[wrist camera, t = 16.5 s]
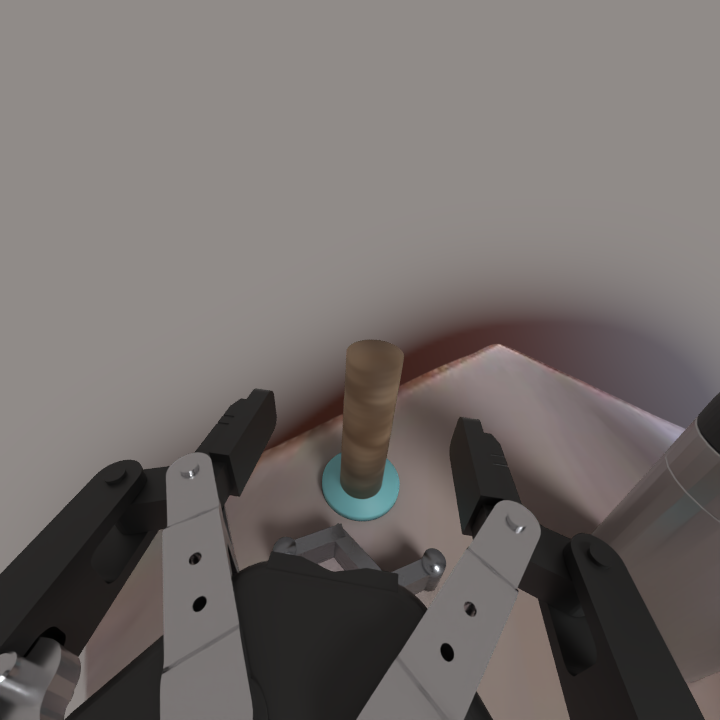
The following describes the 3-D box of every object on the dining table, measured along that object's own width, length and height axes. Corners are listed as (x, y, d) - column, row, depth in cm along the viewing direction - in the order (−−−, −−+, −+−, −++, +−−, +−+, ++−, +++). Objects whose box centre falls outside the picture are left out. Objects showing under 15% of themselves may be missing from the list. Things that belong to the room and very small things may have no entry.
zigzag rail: (432, 547, 27) (439, 528, 26) (443, 618, 23) (453, 601, 21) (284, 535, 27) (282, 515, 26) (267, 604, 23) (263, 585, 21)
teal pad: (385, 449, 37) (386, 444, 36) (409, 513, 30) (410, 508, 30) (318, 457, 35) (318, 453, 35) (327, 528, 28) (327, 523, 28)
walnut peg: (375, 459, 34) (393, 338, 26) (387, 495, 31) (412, 367, 22) (336, 465, 33) (342, 340, 25) (344, 502, 30) (353, 371, 21)
